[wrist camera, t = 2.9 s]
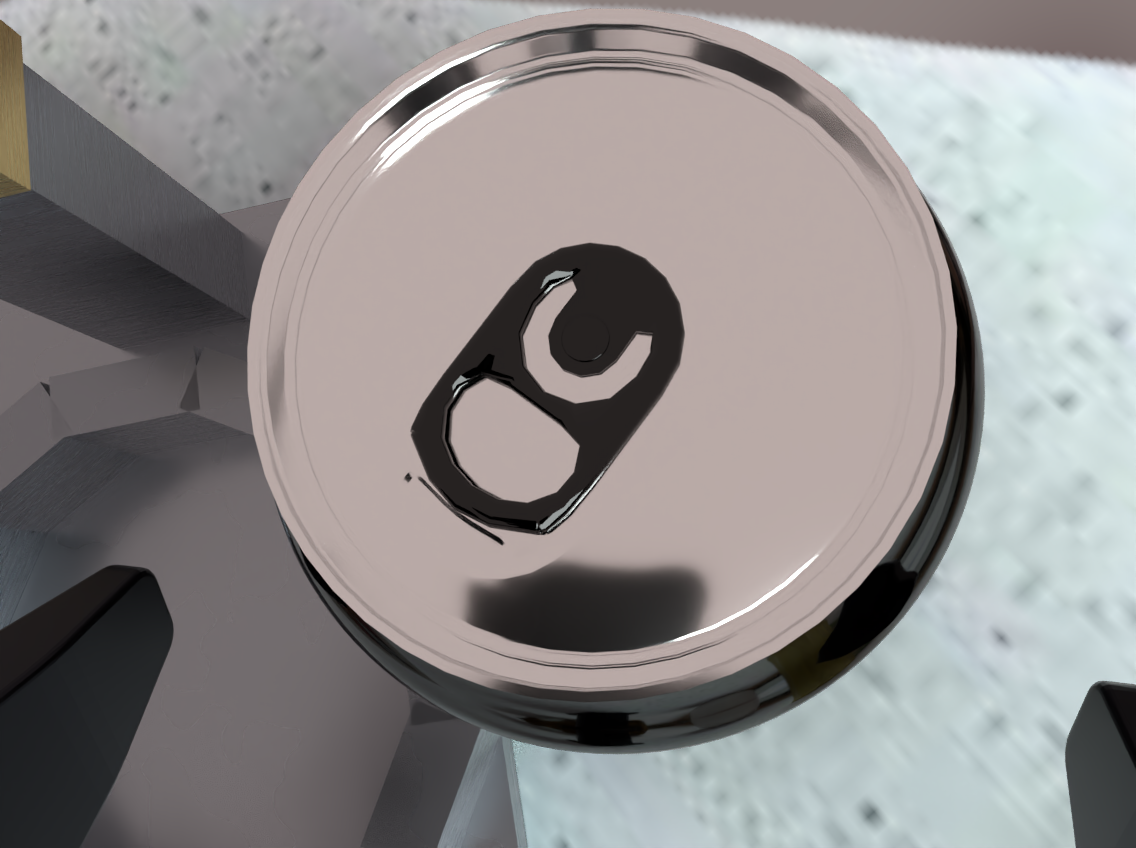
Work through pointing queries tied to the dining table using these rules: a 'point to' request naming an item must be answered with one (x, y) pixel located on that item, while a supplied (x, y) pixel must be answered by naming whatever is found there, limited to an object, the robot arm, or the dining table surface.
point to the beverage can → (615, 381)
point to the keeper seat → (193, 515)
